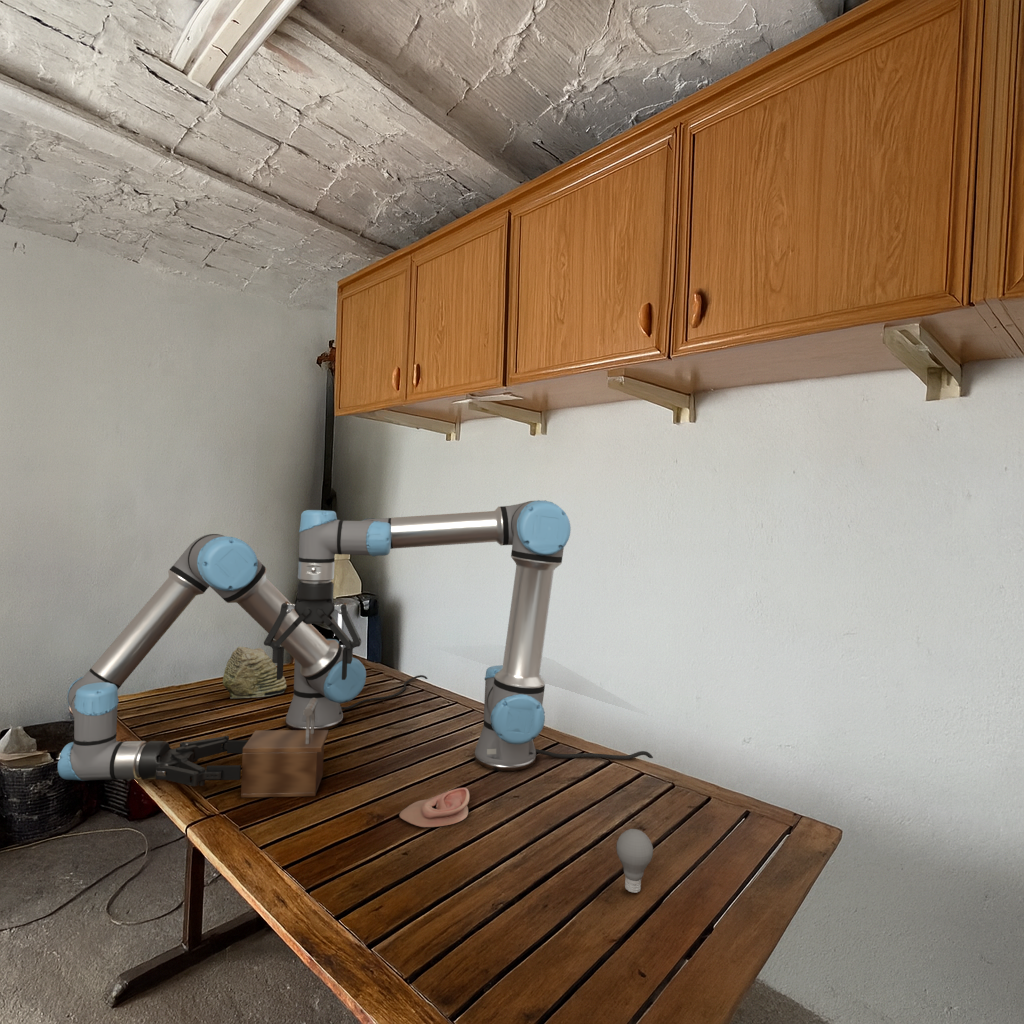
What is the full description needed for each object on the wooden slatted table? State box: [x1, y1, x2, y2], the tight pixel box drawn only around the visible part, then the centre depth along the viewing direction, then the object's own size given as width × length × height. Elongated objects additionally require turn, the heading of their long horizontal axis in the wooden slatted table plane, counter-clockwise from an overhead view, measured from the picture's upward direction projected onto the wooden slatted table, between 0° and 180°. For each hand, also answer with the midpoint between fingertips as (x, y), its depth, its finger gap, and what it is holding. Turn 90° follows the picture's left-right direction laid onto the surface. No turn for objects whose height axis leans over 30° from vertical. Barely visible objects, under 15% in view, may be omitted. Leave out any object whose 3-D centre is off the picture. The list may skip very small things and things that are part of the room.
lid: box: [242, 698, 329, 754], centre depth 138 cm, size 16×10×9 cm, turn 98°
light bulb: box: [615, 828, 654, 894], centre depth 106 cm, size 6×6×10 cm
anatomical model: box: [398, 787, 471, 828], centre depth 128 cm, size 13×4×12 cm
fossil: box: [222, 646, 288, 699], centre depth 198 cm, size 9×18×15 cm, turn 132°
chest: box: [240, 745, 325, 799], centre depth 138 cm, size 15×10×9 cm
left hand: (249, 758), depth 137 cm, fingers open, 13 cm apart
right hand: (312, 678), depth 138 cm, fingers open, 13 cm apart
